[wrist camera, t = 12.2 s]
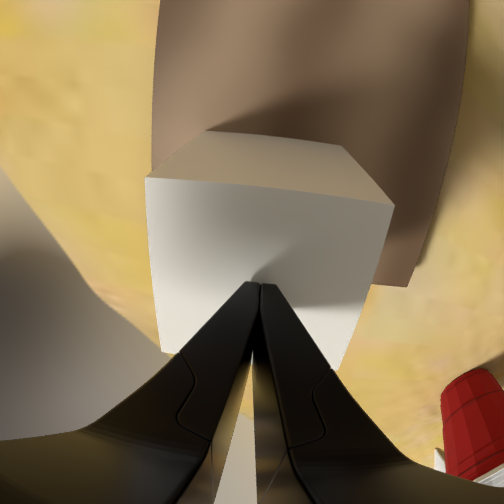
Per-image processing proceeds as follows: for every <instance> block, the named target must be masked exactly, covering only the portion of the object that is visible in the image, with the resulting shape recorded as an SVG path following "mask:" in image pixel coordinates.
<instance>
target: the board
mask: <svg viewBox="0 0 504 504" xmlns="http://www.w3.org/2000/svg"><path fill="white" fill-rule="evenodd" d="M468 22H469V0H160V8H159V17H158V27H157V37H156V49H155V63H154V79H153V102H152V171H153V170H154V169H155V168H157V167H158V166H159V165H160V164H162V163H163V162H164V161H165V160H167V159H168V158H169V157H170V156H172V155H173V154H174V153H176V152H177V151H178V150H179V149H181V148H182V147H183V146H185V145H186V144H187V143H189V142H190V141H191V140H193V139H194V138H195V137H197V136H198V135H199V134H201V133H202V132H203V131H219V132H233V133H245V134H256V135H266V136H275V137H284V138H292V139H300V140H307V141H314V142H321V143H327V144H334V145H340V146H342V147H343V148H344V149H345V150H346V151H347V152H348V153H349V154H350V155H351V156H352V157H353V158H354V160H355V161H356V162H357V163H358V164H359V165H360V166H361V167H362V168H363V169H364V170H365V171H366V173H367V174H368V175H369V176H370V177H371V178H372V179H373V180H374V181H375V183H376V184H377V185H378V186H379V187H380V188H381V189H382V191H383V192H384V193H385V194H386V195H387V196H388V198H389V199H390V200H391V201H392V202H393V204H394V205H395V207H394V210H393V214H392V218H391V221H390V225H389V228H388V232H387V235H386V239H385V242H384V245H383V249H382V252H381V255H380V258H379V261H378V265H377V268H376V271H375V274H374V277H373V280H372V283H371V284H377V285H387V286H398V287H407V286H408V283H409V281H410V278H411V276H412V273H413V271H414V268H415V266H416V263H417V260H418V258H419V255H420V252H421V249H422V246H423V244H424V241H425V238H426V235H427V232H428V229H429V226H430V223H431V220H432V217H433V213H434V210H435V207H436V204H437V200H438V197H439V193H440V190H441V186H442V183H443V179H444V175H445V171H446V167H447V163H448V159H449V155H450V151H451V146H452V142H453V137H454V132H455V127H456V122H457V117H458V111H459V106H460V99H461V93H462V86H463V79H464V71H465V62H466V52H467V39H468Z"/></svg>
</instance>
